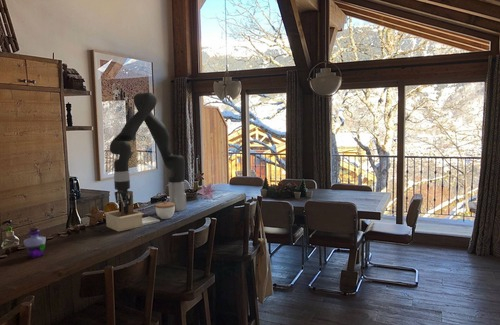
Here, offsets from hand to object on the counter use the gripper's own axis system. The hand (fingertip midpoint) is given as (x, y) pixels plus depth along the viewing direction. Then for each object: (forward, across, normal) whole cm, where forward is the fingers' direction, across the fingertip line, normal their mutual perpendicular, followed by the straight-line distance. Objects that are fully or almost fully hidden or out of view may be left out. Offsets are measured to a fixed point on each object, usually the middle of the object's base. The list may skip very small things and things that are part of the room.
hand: (123, 212), depth 205 cm
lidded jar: (+8, 0, -25) cm, 26 cm away
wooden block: (+8, 0, 0) cm, 8 cm away
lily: (+8, +26, -75) cm, 79 cm away
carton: (+7, 0, 0) cm, 7 cm away
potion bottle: (+8, -15, +46) cm, 49 cm away
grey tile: (+7, 0, -13) cm, 15 cm away
